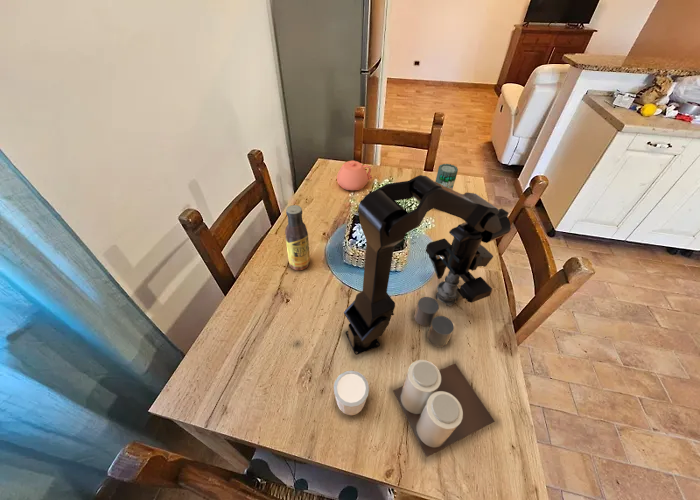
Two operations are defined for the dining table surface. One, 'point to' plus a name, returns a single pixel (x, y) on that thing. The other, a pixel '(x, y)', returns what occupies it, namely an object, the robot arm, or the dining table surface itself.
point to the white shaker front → (439, 419)
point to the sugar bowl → (353, 175)
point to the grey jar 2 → (440, 331)
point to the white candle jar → (351, 392)
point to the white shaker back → (419, 385)
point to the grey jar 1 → (426, 311)
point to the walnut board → (468, 399)
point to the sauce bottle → (297, 239)
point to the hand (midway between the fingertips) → (448, 289)
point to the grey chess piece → (448, 289)
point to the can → (446, 175)
